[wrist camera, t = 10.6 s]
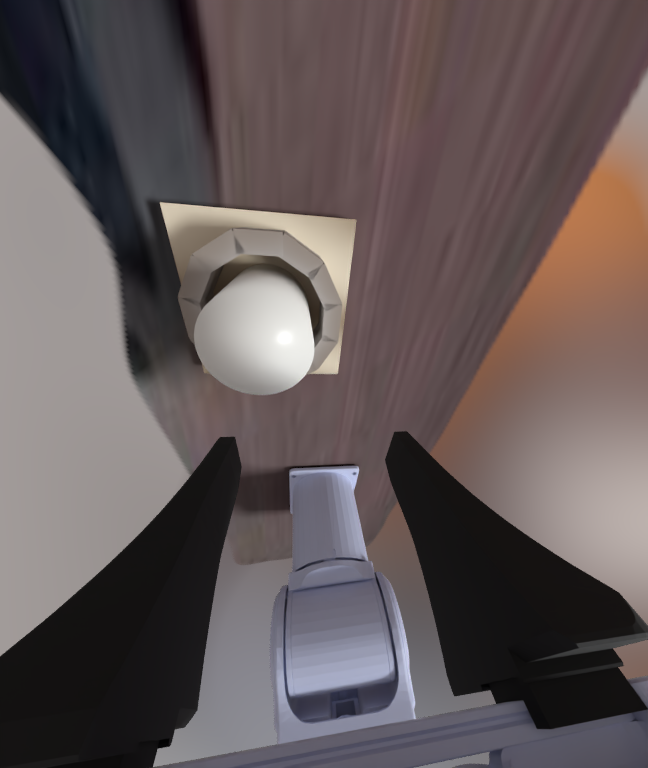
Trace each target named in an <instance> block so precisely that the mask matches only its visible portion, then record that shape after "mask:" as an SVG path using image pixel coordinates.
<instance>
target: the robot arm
mask: <svg viewBox="0 0 648 768" xmlns="http://www.w3.org/2000/svg"><path fill="white" fill-rule="evenodd" d="M385 461H386V465H387V469H388V473H389V477H390V481H391V483H392V486H393V489H394V491H395V494H396V497H397V499H398V502H399V504H400V507H401V509H402V512H403V514H404V517H405V519H406V522H407V525H408V527H409V530H410V532H411V535H412V538H413V541H414V544H415V548H416V551H417V554H418V558H419V561H420V565H421V568H422V572H423V575H424V579H425V583H426V586H427V590H428V594H429V598H430V602H431V606H432V610H433V614H434V618H435V622H436V627H437V631H438V636H439V640H440V645H441V649H442V653H443V658H444V663H445V668H446V673H447V677H448V679H449V683H450V686H451V689H452V692H453V694H454V696H460V695H465V694H471V693H476V692H482V691H488V690H491V692H492V694H493V697H494V699H495V702H496V704H493V705H488V706H482V707H477V708H472V709H466V710H461V711H456V712H450V713H445V714H439V715H434V716H428V717H423V718H418V719H416V717H415V713H414V707H415V698H414V693H413V688H412V682H411V677H410V671H409V652H408V646H407V640H406V635H405V630H404V626H403V621H402V618H401V614H400V610H399V606H398V603H397V600H396V597H395V594H394V591H393V588H392V586H391V584H390V582H389V580H387V578H386V577H385V576H383V574H382V573H381V572H374V569H373V564H372V561H368V558H367V554H366V548H365V544H364V539H363V534H362V530H361V525H360V520H359V516H358V511H357V506H356V502H355V497H354V488H355V485H356V481H357V477H358V473H359V467H358V466H336V467H313V468H293V469H291V470H290V471H289V482H290V513H291V514H293V567H292V569H293V570H292V572H291V573H289V580H288V581H289V582H288V585H285V586H282V588H281V589H280V592H279V593H278V595H277V596H276V598H275V601H274V606H273V612H272V621H271V634H270V674H271V684H272V689H273V695H274V728H275V731H276V732H277V745H272V746H267V747H261V748H255V749H250V750H245V751H239V752H234V753H228V754H223V755H217V756H212V757H207V758H201V759H196V760H190V761H185V762H179V763H174V764H169V765H163V766H158V767H153V764H154V760H155V756H156V752H157V749H158V748H163V747H169V746H170V745H171V742H172V739H173V735H174V730H175V729H179V728H184V727H185V726H186V725H187V724H188V723H189V721H190V720H191V718H192V717H193V716H194V714H195V712H196V711H197V708H198V700H199V692H200V685H201V677H202V670H203V663H204V655H205V649H206V641H207V635H208V629H209V622H210V616H211V610H212V603H213V597H214V591H215V585H216V579H217V574H218V569H219V563H220V558H221V553H222V549H223V545H224V541H225V537H226V534H227V530H228V526H229V522H230V519H231V515H232V511H233V507H234V503H235V500H236V496H237V492H238V487H239V480H240V474H241V462H240V457H239V453H238V448H237V444H236V439H235V437H220V438H219V439H218V440H217V441H216V443H215V444H214V446H213V447H212V448H211V450H210V451H209V453H208V454H207V455H206V457H205V458H204V459H203V461H202V462H201V463H200V465H199V466H198V467H197V469H196V470H195V471H194V472H193V474H192V475H191V476H190V478H189V479H188V480H187V481H186V483H185V484H184V485H183V486H182V487H181V489H180V490H179V491H178V492H177V493H176V495H175V496H174V497H173V498H172V499H171V501H170V502H169V503H168V504H167V505H166V506H165V507H164V508H163V510H162V511H161V512H160V513H159V514H158V515H157V516H156V517H155V518H154V519H153V520H152V521H151V522H150V524H149V525H148V526H147V527H146V528H145V529H144V530H143V531H142V532H141V533H140V534H139V535H138V536H137V537H136V538H135V539H134V540H133V541H132V542H131V543H130V544H129V545H128V546H127V547H126V548H125V549H124V550H123V551H122V552H120V554H118V556H116V557H115V558H114V559H113V560H112V561H111V562H110V563H109V564H108V565H107V566H106V567H105V568H104V569H103V570H101V571H100V572H99V573H98V574H97V575H96V576H95V577H94V578H93V579H92V580H90V581H89V582H88V583H87V584H86V585H85V586H83V587H82V588H81V589H80V590H79V591H78V592H77V593H76V594H74V595H73V596H72V597H71V598H70V599H69V600H68V601H66V602H65V603H64V604H63V605H62V606H61V607H60V608H58V609H57V610H56V611H55V612H54V613H53V614H51V615H50V616H49V617H48V618H47V619H45V620H44V621H43V622H42V623H41V624H39V625H38V626H37V627H36V628H34V630H32V631H31V632H30V633H28V634H27V635H26V636H25V637H23V638H22V639H21V640H20V641H18V642H17V643H16V644H15V645H14V646H12V647H11V648H10V649H9V650H8V651H6V652H5V653H4V654H3V655H1V656H0V768H414V767H418V766H423V765H428V764H432V763H437V762H442V761H446V760H452V759H456V758H461V757H466V756H471V755H475V754H480V753H485V752H490V753H489V758H490V761H489V765H487V764H463V765H459V766H455V767H453V768H648V676H643V677H638V678H632V679H626V678H625V676H624V675H623V674H622V672H621V671H620V669H619V668H618V667H620V666H623V662H622V660H621V659H620V658H619V657H618V655H617V654H616V652H615V651H614V650H613V648H616V647H620V646H624V645H628V644H632V643H636V642H640V641H644V640H648V625H647V624H646V623H645V622H644V621H643V620H642V619H641V617H640V616H639V615H638V614H637V613H636V612H635V610H634V609H633V608H632V607H631V606H630V605H629V604H628V602H627V601H626V600H625V599H624V598H623V597H622V596H621V595H620V593H619V592H617V591H615V590H613V589H612V588H610V587H609V586H607V585H605V584H603V583H602V582H600V581H599V580H597V579H595V578H593V577H592V576H590V575H588V574H587V573H585V572H583V571H582V570H580V569H578V568H576V567H575V566H573V565H572V564H570V563H568V562H567V561H565V560H563V559H562V558H560V557H559V556H557V555H556V554H554V553H553V552H551V551H550V550H548V549H547V548H545V547H543V546H542V545H540V544H539V543H537V542H536V541H535V540H533V539H532V538H530V537H529V536H527V535H526V534H524V533H523V532H522V531H520V530H518V529H517V528H516V527H514V526H513V525H512V524H510V523H509V522H507V521H506V520H504V519H503V518H502V517H501V516H499V515H498V514H497V513H495V512H494V511H493V510H492V509H490V508H489V507H488V506H487V505H485V504H484V503H483V502H482V501H480V500H479V499H478V498H477V497H475V496H474V495H473V494H472V493H471V492H469V491H468V490H467V489H466V488H465V487H464V486H463V485H461V484H460V483H459V482H458V481H457V480H456V479H454V477H453V476H451V475H450V474H449V473H448V472H447V471H446V470H445V469H444V468H443V467H442V466H441V465H440V464H439V463H438V462H437V461H436V460H435V459H434V458H433V457H432V456H431V455H430V454H429V453H428V452H427V451H426V450H425V449H424V448H423V447H422V446H421V445H420V444H419V443H418V442H417V441H416V440H415V439H414V438H413V437H412V436H411V435H410V434H409V433H408V432H407V431H405V432H394V435H393V438H392V441H391V444H390V447H389V450H388V453H387V456H386V459H385Z"/></svg>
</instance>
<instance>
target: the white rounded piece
mask: <svg viewBox="0 0 648 768" xmlns="http://www.w3.org/2000/svg"><path fill="white" fill-rule="evenodd" d="M194 343H195V348H196V351H197V354H198V356H199V358H200V360H201V362H202V364H203V365H204V367H205V368H206V369H207V370H208V371H209V373H210V374H211V375H212V376H213V377H215V378H216V379H217V380H218V381H220V382H221V383H222V384H224V385H226V386H227V387H230V388H232V389H234V390H236V391H239V392H243V393H247V394H253V395H270V394H275V393H279V392H282V391H285V390H287V389H289V388H291V387H293V386H294V385H295V384H297V383H298V382H299V381H300V380H301V379H302V378H303V377H304V376H305V375H306V373H307V372H308V370H309V369H310V366H311V364H312V361H313V357H314V338H313V332H312V325H311V319H310V312H309V306H308V300H307V296H306V293H305V291H304V288H303V287H302V285H301V284H300V282H299V281H298V280H297V279H296V278H295V277H294V276H293V275H292V274H291V273H290V272H288V271H286V270H285V269H283V268H281V267H278V266H275V265H269V264H259V265H254V266H251V267H249V268H247V269H245V270H243V271H242V272H241V273H240V274H238V275H237V276H236V277H235V278H234V279H233V280H232V281H231V282H230V283H229V284H228V285H227V286H226V287H224V288H223V289H222V290H221V291H220V292H219V293H218V294H217V295H216V296H215V297H214V298H213V299H212V300H211V301H209V302H208V303H207V304H206V305H205V306H204V308H203V309H202V311H201V312H200V314H199V316H198V318H197V321H196V324H195V329H194Z"/></svg>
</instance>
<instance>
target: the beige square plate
mask: <svg viewBox="0 0 648 768" xmlns="http://www.w3.org/2000/svg"><path fill="white" fill-rule="evenodd" d="M160 206H161V209H162V213H163V217H164V221H165V225H166V229H167V232H168V236H169V240H170V244H171V248H172V251H173V255H174V259H175V263H176V267H177V270H178V274H179V278H180V282H181V288H180V291H179V294H178V301H179V304H180V308H181V312H182V315H183V319H184V322H185V326H186V329H187V333H188V337H189V338H190V340H191V341H192V343H193V344H194V345H195V343H194V329H195V324H196V321H197V318H198V316H199V314H200V312H201V311H202V309H203V308H204V306H205V305H206V304H207V303H208V302H209V301H211V300H212V299H213V298H214V297H215V296H216V295H217V294H218V293H219V292H220V291H221V290H222V289H223V288H224V287H226V286H227V285H228V284H229V283H230V282H231V281H232V280H233V279H234V278H235V277H236V276H237V275H238V274H240V273H241V272H242V271H243V270H245V269H247V268H249V267H251V266H254V265H259V264H269V265H275V266H278V267H281V268H283V269H285V270H286V271H288V272H290V273H291V274H292V275H293V276H294V277H295V278H296V279H297V280H298V281H299V282H300V284H301V285H302V287H303V288H304V291H305V293H306V296H307V300H308V306H309V312H310V319H311V325H312V332H313V338H314V357H313V361H312V364H311V366H310V369H309V370H308V372H307V373H306V375H308V374H338V367H339V359H340V351H341V343H342V334H343V326H344V318H345V310H346V302H347V293H348V285H349V277H350V269H351V261H352V252H353V244H354V236H355V228H356V220H354V219H343V218H331V217H320V216H309V215H297V214H286V213H275V212H263V211H252V210H241V209H229V208H218V207H207V206H196V205H184V204H173V203H162V202H160ZM202 366H203V370H204V373H209V371H208V370H207V369H206V368H205V367H204V365H203V364H202ZM306 375H305V376H306Z"/></svg>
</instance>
